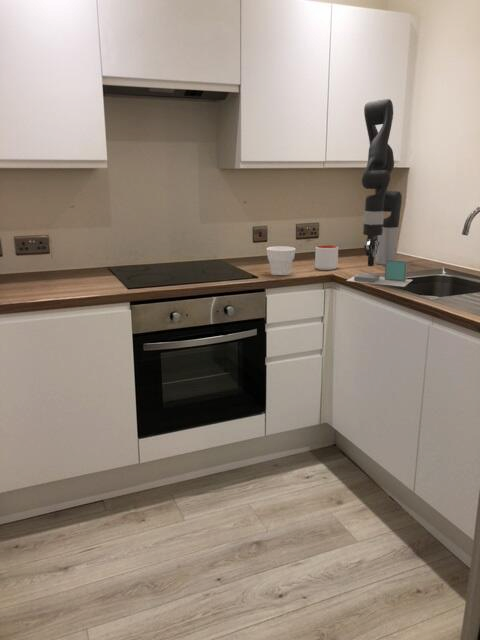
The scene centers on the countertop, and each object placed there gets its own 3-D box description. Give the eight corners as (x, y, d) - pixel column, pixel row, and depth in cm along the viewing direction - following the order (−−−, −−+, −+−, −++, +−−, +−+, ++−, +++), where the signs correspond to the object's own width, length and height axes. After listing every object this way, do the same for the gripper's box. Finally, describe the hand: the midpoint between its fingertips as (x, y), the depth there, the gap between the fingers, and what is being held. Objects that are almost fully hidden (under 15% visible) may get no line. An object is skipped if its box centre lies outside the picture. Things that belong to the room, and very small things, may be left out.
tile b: (385, 278, 208) (387, 259, 206) (405, 280, 205) (407, 260, 202) (384, 279, 207) (385, 260, 205) (404, 281, 203) (406, 261, 201)
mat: (357, 275, 218) (357, 274, 217) (412, 280, 206) (412, 279, 206) (345, 281, 206) (345, 280, 206) (404, 287, 195) (404, 286, 195)
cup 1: (292, 277, 215) (293, 251, 212) (263, 276, 218) (263, 250, 215) (297, 271, 227) (297, 246, 224) (269, 270, 230) (269, 245, 226)
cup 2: (313, 270, 229) (314, 248, 226) (316, 266, 238) (317, 244, 236) (336, 271, 227) (337, 248, 224) (338, 267, 236) (339, 245, 233)
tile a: (360, 272, 211) (354, 276, 205) (379, 274, 208) (374, 278, 201) (360, 277, 212) (354, 280, 205) (379, 279, 208) (373, 282, 201)
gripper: (369, 220, 211) (366, 262, 216) (358, 223, 200) (356, 267, 205) (387, 221, 207) (384, 263, 212) (378, 224, 196) (375, 269, 201)
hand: (370, 265), depth 208 cm, fingers closed
